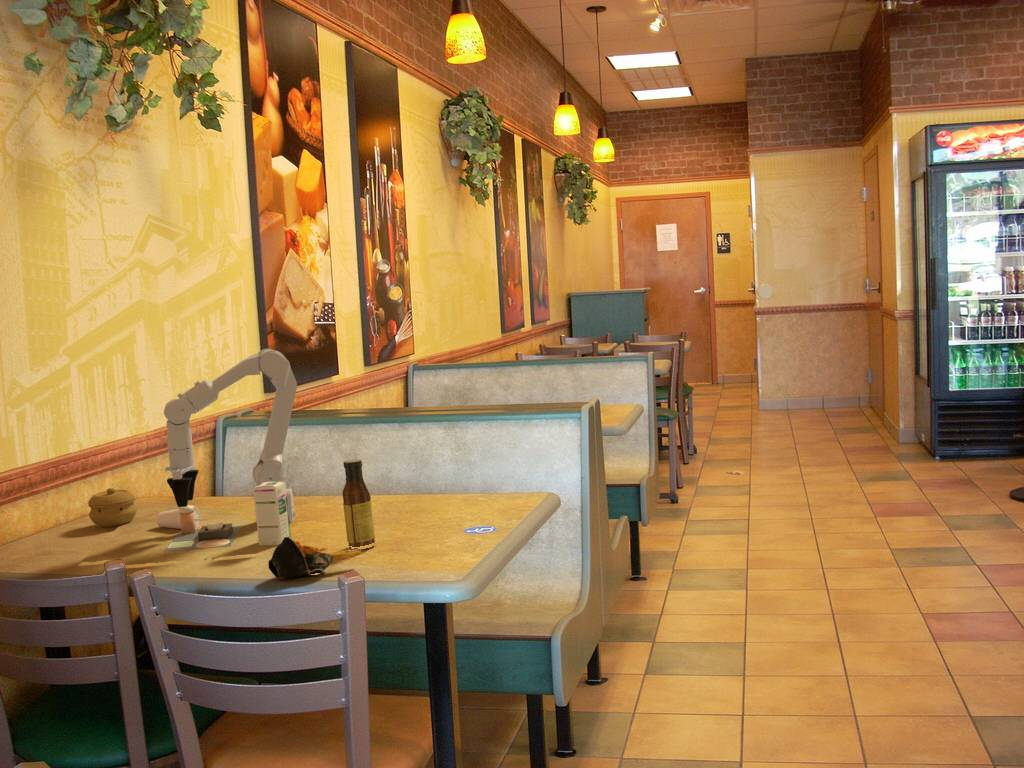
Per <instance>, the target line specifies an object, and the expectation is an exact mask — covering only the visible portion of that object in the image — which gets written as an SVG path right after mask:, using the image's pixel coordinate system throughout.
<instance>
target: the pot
mask: <svg viewBox="0 0 1024 768" xmlns="http://www.w3.org/2000/svg"><path fill="white" fill-rule="evenodd" d="M136 500H137V499H136V496H135V495H134V493H132V492H131V491H130V490H127V489H115V488H114V487H109V488H107V489H106V490H105V491H100V492H97V493H95V494H93V495H92V496H91V497H90V498H89V500H88V502H87V504H88V507H89V508H90V512H89V513H88V517H89V518H90V520H91V521H92V523H93V524H94V525H95V526H97V527H99V528H115V527H116V528H117V527H120V526H121V525H125V524H129V523H131V522H132V521H133V520H134V518H135V516H136V514H137V509H138V507H137V506H136V505H135V504H134V502H136Z"/></svg>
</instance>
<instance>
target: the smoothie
mask: <svg viewBox="0 0 1024 768" xmlns="http://www.w3.org/2000/svg"><path fill="white" fill-rule="evenodd" d="M193 506H194V511H193V513H194V524H195V528H197V527H199V526H200V523H201V521H209V520H210V519H209V518H208V517H204V518H203V517H202V518H201V512H200V511H199V509H198V507H197V506H195V505H193ZM156 524H157V526H158V527H160V528H168V529H178V530H181V521H180V513H179V508H177V509H171V510H165V511H161V512H159V513H158V514H157V516H156Z"/></svg>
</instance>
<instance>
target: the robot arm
mask: <svg viewBox="0 0 1024 768" xmlns="http://www.w3.org/2000/svg"><path fill="white" fill-rule="evenodd" d="M261 373H262V374H263V375H265V376H266V377H267V378H268V379H269V381H270V382H271V383H272V385H273V386H274V387H275V394H274V398H273V403H272V406H271V407H272V408H271V411H270V416H269V421H268V427H267V431H266V435H265V439H264V444H263V448H262V451H261V453H260V455H259V460H258V462H257V463H256V464H255V466H254V467H253V470H252V479H253V480H254V481H255V483H257V484H256V486H255V487H257V486H258V485H261V484H262V483H263V482H273V481H281V482H284V481H283V480H284V476H283V471H282V468H283V454H284V453H283V452H284V448H285V443H286V439H287V435H288V431H289V426H290V420H291V416H292V412H293V407H294V403H295V399H296V398H295V397H296V395H297V388H298V383H297V380H296V377H295V375H294V372H293V371H292V368H291V363H290V361H289V360H288V359H287V358H286V356H285V355H284V354H283V353H282V352H280V351H278V350H275V349H273V348H263V349H262V350H260V351H259V352H258V353H254V354H251V355H250V356H248V357H246V358H244V359H243V360H241V361H240V362H238V363H236V364H235V365H233V366H232V367H231V368H229V369H228V370H227V371H224V372H223V373H222V374H220V375H219V376H217V377H216V378H214V380H212V381H209V380H205V379H204V380H202V381H201V382H200V381H199V380H197V381H196V382H194V386H193V387H191V388H190V389H188V390H185V391H184V392H182V393H181V392H179V393H178V394H176V395H177V397H178V398H172V399H170V400H169V401H167V402H166V404H165V406H164V410H163V414H164V417H165V418H166V428H167V430H166V441H167V449H168V450H167V451H168V458H169V459H168V460H169V461H168V462H169V466H166V467H164V471H165V472H167V471H169V472H170V473H172V475H171V476H172V477H168V478H167V479H166V483H167V485H169V487H170V489H171V492H172V494H173V496H174V499H175V503H176V506H177V507H178V508H179V507H186V506H187V505H189V504H188V502H189V501H193V500H194V497H195V496H194V493H195V486H196V481H197V477H198V474H199V469H196V464H195V458H194V457H195V456H194V455H195V454H194V446H193V436H192V428H191V423H190V419H191V417H192V414H193V415H194V414H195V415H196V414H197V413H199V412H201V411H202V410H203V409H205V408H206V407H208V406H210V405H211V404H212V403H213V404H214V402H216V401H217V400H218V398H219V393H220V392H221V391H223V390H225V389H227V388H229V387H230V386H232V385H233V384H235V383H237V382H238V381H240V380H242V379H243V378H245V377H247V376H260V375H261ZM286 493H287V502H288V512H289V523H291V524H292V523H294V520H295V518H296V511H295V505H294V493H293V489H292V488H286Z"/></svg>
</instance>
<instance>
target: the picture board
mask: <svg viewBox="0 0 1024 768" xmlns="http://www.w3.org/2000/svg"><path fill="white" fill-rule="evenodd" d="M232 527H233V532H232V534H231V535H230V537H229V538H227V539H213V540H203V541H198V532H199V530H200V529H201V528H199V529H195V533H193V534H187V535H183V534H182V532H181V530H179V532H178V533H177V534H176V536H175V537H174V538H173V539H172V540H171V542H170V543H169V544H168V545H167V546H166V548H165V549H164V550H163V553H168V552H177V551H179V552H180V551H190V550H203V549H216V548H226V547H231V546H232V544H233V542H234V541H235V539H236V537H237V535H238V534H239V532H240V530H241V529H242V527H243V525H236V526H232Z"/></svg>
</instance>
